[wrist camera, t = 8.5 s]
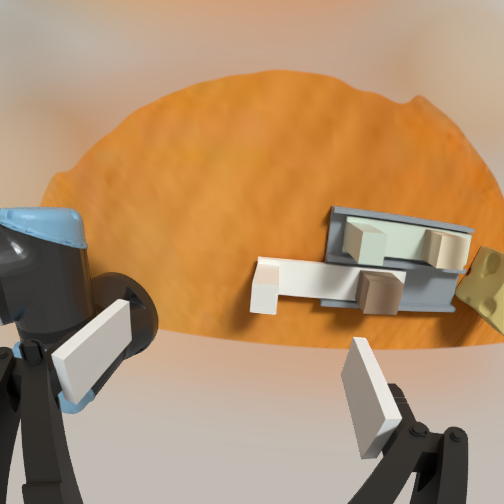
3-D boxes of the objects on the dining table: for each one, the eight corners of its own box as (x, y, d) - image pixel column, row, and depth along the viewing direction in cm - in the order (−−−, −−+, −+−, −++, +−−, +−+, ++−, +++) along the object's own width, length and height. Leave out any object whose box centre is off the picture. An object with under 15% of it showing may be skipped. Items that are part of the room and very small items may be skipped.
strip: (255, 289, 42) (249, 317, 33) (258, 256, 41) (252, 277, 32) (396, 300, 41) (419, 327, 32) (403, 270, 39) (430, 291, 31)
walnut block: (354, 298, 40) (363, 313, 35) (360, 270, 39) (370, 281, 34) (385, 300, 40) (396, 315, 35) (391, 272, 39) (404, 284, 34)
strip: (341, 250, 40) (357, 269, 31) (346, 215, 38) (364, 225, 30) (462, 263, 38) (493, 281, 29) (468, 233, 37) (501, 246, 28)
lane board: (318, 298, 43) (321, 305, 40) (331, 205, 39) (335, 207, 37) (448, 305, 41) (455, 312, 38) (465, 226, 38) (474, 229, 35)
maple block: (420, 258, 38) (436, 267, 33) (425, 229, 37) (442, 235, 32) (446, 261, 37) (462, 270, 32) (451, 233, 36) (468, 239, 31)
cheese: (451, 292, 40) (481, 317, 31) (481, 240, 38) (517, 254, 28) (479, 316, 41) (507, 340, 31) (507, 269, 38) (539, 286, 29)
